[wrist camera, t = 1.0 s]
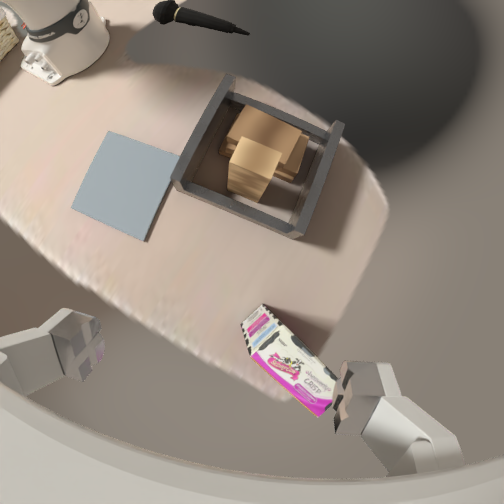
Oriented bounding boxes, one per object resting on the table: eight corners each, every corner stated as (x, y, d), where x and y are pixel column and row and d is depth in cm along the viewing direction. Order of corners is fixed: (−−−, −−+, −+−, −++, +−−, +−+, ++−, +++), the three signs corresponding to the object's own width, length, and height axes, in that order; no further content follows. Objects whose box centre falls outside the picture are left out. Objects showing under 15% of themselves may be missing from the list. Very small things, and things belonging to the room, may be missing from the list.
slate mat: (72, 208, 43) (70, 207, 43) (109, 132, 45) (108, 130, 44) (144, 241, 44) (143, 241, 44) (182, 158, 46) (181, 157, 45)
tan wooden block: (226, 190, 46) (229, 162, 33) (236, 170, 46) (241, 136, 33) (257, 202, 46) (270, 179, 34) (266, 182, 47) (282, 153, 34)
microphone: (248, 39, 51) (158, 15, 47) (257, 18, 46) (162, -7, 42) (241, 51, 49) (146, 25, 45) (250, 28, 44) (149, 3, 40)
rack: (176, 190, 45) (169, 177, 38) (225, 96, 47) (226, 73, 40) (292, 239, 47) (304, 234, 40) (330, 141, 48) (345, 124, 41)
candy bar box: (238, 325, 45) (246, 356, 29) (262, 302, 46) (284, 321, 30) (287, 373, 46) (318, 420, 29) (310, 351, 46) (351, 389, 30)
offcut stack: (218, 154, 46) (218, 139, 41) (236, 118, 47) (238, 100, 41) (290, 183, 47) (299, 172, 41) (304, 147, 48) (315, 132, 42)
